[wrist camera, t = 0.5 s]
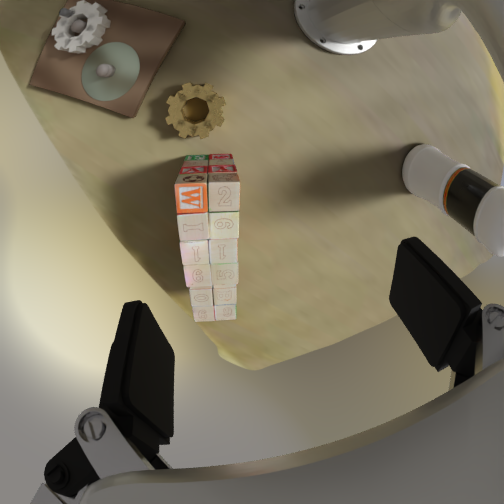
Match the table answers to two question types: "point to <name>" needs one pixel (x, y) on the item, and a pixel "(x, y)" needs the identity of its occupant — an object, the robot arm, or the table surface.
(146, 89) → the gear board
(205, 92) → the brass gear
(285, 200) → the table surface
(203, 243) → the stack of blocks
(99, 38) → the gear
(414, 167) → the vodka
